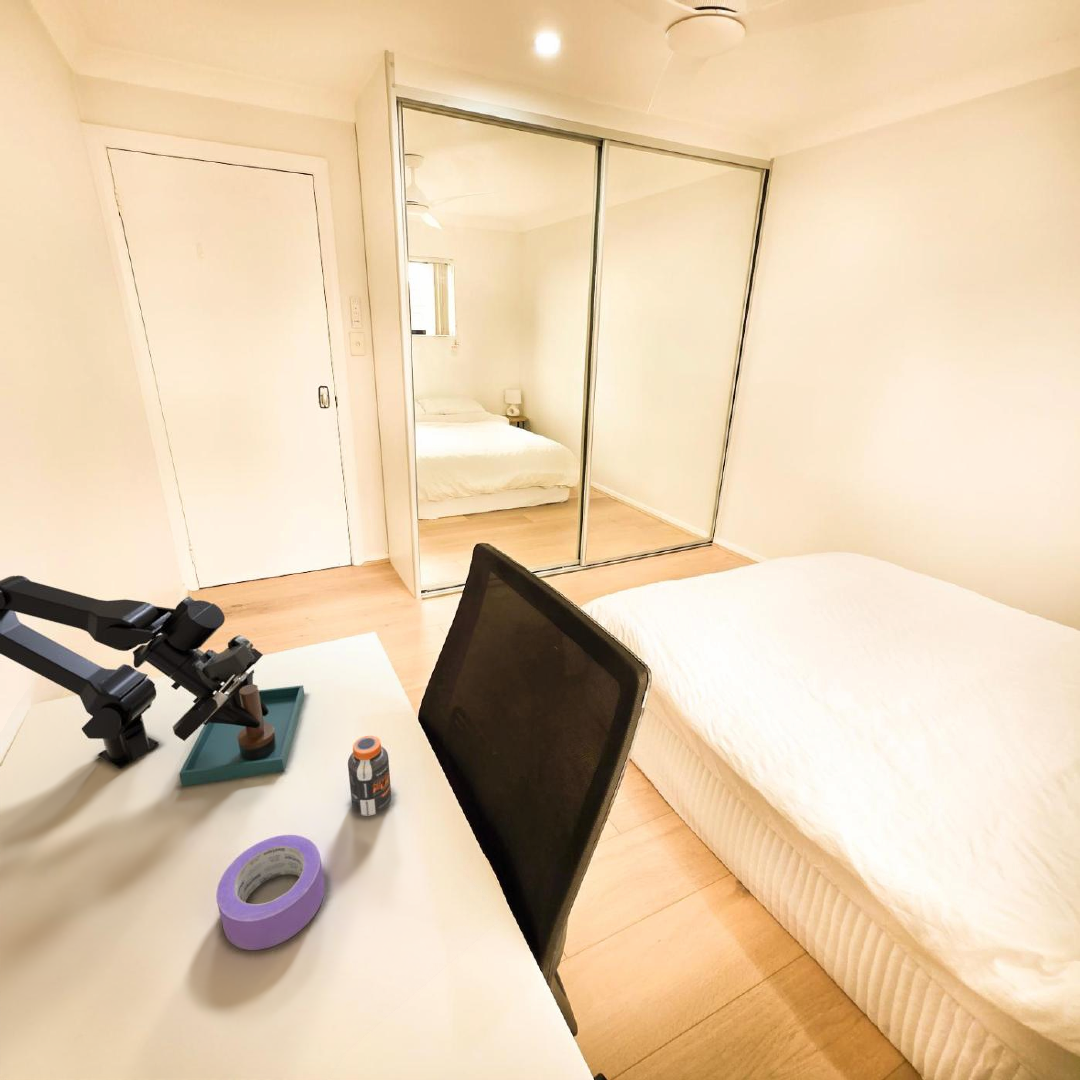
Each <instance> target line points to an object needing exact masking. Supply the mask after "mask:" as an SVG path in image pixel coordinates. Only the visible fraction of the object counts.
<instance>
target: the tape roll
mask: <svg viewBox="0 0 1080 1080" xmlns="http://www.w3.org/2000/svg"><path fill="white" fill-rule="evenodd" d="M323 872H324V871H323V866H322V859H321V854H320V851H319V848H318V847H317V845H316V844H315V843H314V842H313V841H311V839H309V838H307V837H305V836H302V835H297V834H282V835H281V834H280V835H276V836H272V837H269V838H266V839H264V840H261V841H259V842H257V843H256V844H254V845H252V846H250V847H249V848H247V849H246V850H244V851H243V852H242V853H240V854H239V855H238V856H237V857H236V858H235V859H234V860H233V861H232V862H231V863H230V864H229V866H228V867H227V868H226V869H225V871H224V872H223V873H222V876H221V878H220V879H219V882H218V885H217V890H216V903H217V908H218V911H219V915H220V919H221V924H222V927H223V931H224V934H225V936H226V938H227V940H228V941H229V942H230V943H231V944H232V945H233V946H235V947H237V948H239V949H242V950H245V951H246V950H248V951H257V950H265V949H268V948H272V947H274V946H277V945H279V944H282V943H284V942H286V941H288V940H289V939H291V938H292V937H294V936H295V935H296V934H298V933H299V932H300V931H302V930H303V929H304V927H306V926H307V925H308V924H309V923H310V921H311V920H312V919H313V917H314V916H315V915H316V914H317V912H318V910H319V909H320V906H321V904H322V903H323V899H324V896H325V888H326V887H325V885H326V884H325V878H324V873H323ZM284 875H293V876H297V877H298V879H297V881H295V883H294V884H293V886H291V888H290V889H289V890H287V891H286V892H284V893H283V894H282V895H280V896H278V897H277V898H274V899H273V900H269V901H267V902H263V903H248V902H247V900H248V899H249V897H250V896H251V894H252V893H253V892H254V891H255V890H256V889H257V888H258V887H260V886H261V885H262V884H263V883H265V882H267V881H269V880H271V879H273V878H275V877H279V876H284Z"/></svg>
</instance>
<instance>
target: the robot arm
mask: <svg viewBox="0 0 1080 1080" xmlns="http://www.w3.org/2000/svg"><path fill="white" fill-rule="evenodd" d="M17 613H19V614H22V615H26V616H30V617H33V618H37V619H41V620H45V621H49V622H53V623H55V624H56V623H57V624H61V625H64V626H67V627H71V628H75V629H80V630H82V631H84V632H87V634H89V635H90V637H91V638H92V640H94V641H95V642H97V643H99V644H101V645H104V646H106V647H109V648H111V649H113V650H117V651H120V652H128V651H130V650H133V649H134V650H133V651H132V655H133V666H131V665H129V664H125V663H122V664H121V665H120V666H119V667H117V668H116V669H113V668H112V669H111V668H104V667H102V666H101V665H98V664H97V663H95V662H93V661H91V660H89V659H88V658H85V657H84V656H82V655H80V654H78V653H77V652H75V651H73V650H71V649H69V648H67V646H64V645H62V644H60V643H58V642H57V641H55V640H53V639H51V638H50V637H47V636H46V635H44V634H42V633H40V632H39V631H36V630H35V629H33V628H31V627H29V626H27V625H26V624H24V623H22V622H21V621H20V620H19V618H18V615H17ZM225 619H226V618H225V613H224V612H223V611H222V609H221V608H220V607H219V606H218V605H217V604H215V603H211V602H209V601H206V600H195V599H193V598H192V597H191V596H187V597H185V598H184V599H182V600H181V601H180V602H179V603H178V604H177V605H176V606H175V608H170V607H164V606H158V605H157V606H156V605H154V604H152V603H150V602H146V601H143V600H142V601H141V600H133V599H125V598H124V599H113V600H104V599H98V598H94V597H90V596H86V595H84V594H83V595H82V594H79V593H76V592H73V591H70V590H69V591H68V590H65V589H61V588H58V587H54V586H49V585H46V584H43V583H39V582H35V581H32V580H31V579H29V578H28V577H27V576H24V575H10V576H8V577H5V578H2V579H0V655H2V656H4V657H6V658H7V659H10V660H11V661H13V662H15V663H16V664H19V665H21V666H23V667H25V668H26V669H28V670H31V671H32V672H34V673H36V674H38V675H39V676H42V677H44V678H45V679H46V680H49V681H51V682H53V683H55V684H57V685H58V686H60V687H62V688H64V689H66V690H68V691H69V692H72V693H74V694H75V695H77V696H78V697H79V698H80V700H81V702H82V705H83V707H84V709H85V711H86V713H87V714H89V715H90V716H91V718H90V719H89V720H88V721H87V722H86V723H85V724H84V725H82V727H81V730H82V732H83V733H84V735H85V736H86V737H87V739H90V740H93V739H94V740H95V739H96V740H102V741H103V745H104V750H102V751H100V752H99V753H98V754H97V757H98V758H99V759H101V760H102V761H104V762H106V763H108V764H110V765H112V767H115V768H116V769H123V768H124V767H126V766H128V765H130V764H131V763H133V762H134V761H136V760H138V759H140V758H142V757H143V756H144V755H146V754H148V753H150V752H151V751H153V750H154V749H156V748H157V747H159V746H160V743H159V741H156V740H154V739H153V738H151V737H148V734H147V730H146V726H145V722H144V719H143V714H144V713H145V712H147V710H148V709H150V708H151V707H152V705H153V702H154V701H155V699H156V697H157V689H156V684H155V683H154V682H153V680H151V679H150V678H149V677H148V673H143V672H141V671H139V670H136V669H138V668H140V667H141V666H142V665H144V664H145V663H146V662H147V663H148V664H150V665H151V666H152V667H153V668H155V669H157V670H158V671H159V672H161V674H164V675H165V676H166V677H168V678H169V679H171V680H172V681H173V684H171V685H170V686H171V688H172V689H174V690H175V691H177V690H178V689H179V688H180V687H181V688H183V689H185V690H186V691H187V692H189V693H190V694H192V695H193V696H194V697H195V699H193V700H192V703H193V705H192V706H191V707H190V708H189V709H188V710H187V711H186V712H184V714H183V715H182V716H181V717H180V718H179V719H178V721H176V722H175V724H173V726H172V730H173V734H174V736H176V737H177V738H179V739H180V740H182V741H183V742H186V740H187V739H189V738H190V736H192V735H193V734H194V733H195V732H196V731H197V730H198V728H200V727H201V726H202V725H203V726H204V725H207V724H208V723H221V724H232V725H238V726H245V727H251V728H257V727H258V726H260V724H261V723H260V722H259V721H258V720H257V719H256V718H255V717H254V716H253V715H251V714H250V713H249V712H248V711H246V710H245V709H244V708H242V707H241V706H242V705H241V700H240V694H239V690H240V689H241V688H242V687H244V686H246V685H251V684H254V674H255V669H252V670H251V671H250V672H249V673H248V672H247V671H249V669H250V668H251V667H253V665H256V664H257V663H258V661H259V660H260V659H261V658H262V657H263V656H264V654H263V653H262V652H261V651H259V650H257V649H256V648H254V644H253V643H252V642H250V640H249V639H247V638H246V637H244V636H242V635H241V634H239V635H236V636H234V637H232V638H231V639H230V640H229V641H228V642H227V647H226V648H225V649H224V650H223V651H221V652H219V653H217V652H215V650H213V649H207V650H206V651H205V652H203V651H202V650H201V649H199V648H201V647H203V645H204V644H205V643H206V642H207V641H208V640H210V638H211V637H212V636H213V635H214V634H215V633H216V632H217V631H218V630H219V629H220V628H221V627H223V625H224V623H225ZM135 648H136V649H135ZM226 692H227V694H228V696H226V695H225V694H226ZM260 702H261V709H262V715H263V716H266V715H267V714H268V713H269V710H268V709H267V707H266V706H265V704H264V702H263V701H262V699H261V698H260Z"/></svg>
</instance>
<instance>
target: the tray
mask: <svg viewBox="0 0 1080 1080" xmlns="http://www.w3.org/2000/svg"><path fill="white" fill-rule="evenodd" d="M304 689H305V688H304V685H303V684H301V685H294V686H293V685H292V686H284V687H276V688H266V689H258V690H259V696H260V698H261V699H262V701H263V702H264V704H265V706H266V707H267V709H268V710H269V713H268V714H267V715H266V716H263V721H264V722H267V723H270V724H272V725H273V727H274V732H275V738H276V748H275V750H274V751H273V752H272V753H271V754H270V755H268V756H267V757H265V758H262V759H259V760H254V761H249V760H245V759H243V758H242V757H241V754H240V749H239V743H238V734H239V733H240V732H241V730H243V729H244V728H245V726H238V725H232V724H221V723H208V724H207V725H204V724H203V727H202V728H201V731H200V732H199V735H198V736H197V738H196V739H195V742H194V744H193V746H192V748H191V750H190V751H189V753H188V755H187V758H186V760H184V761H185V762H184V763H183V766H182V768H180V771H179V773H178V775H179V778H180V782H181V787H187V786H193V785H194V786H195V785H202V784H207V783H214V782H220V781H221V782H223V781H229V780H235V779H241V778H250V777H256V776H262V775H263V776H264V775H269V774H275V773H276V774H277V773H282V772H285V771H286V767H287V763H288V759H289V755H290V752H291V749H292V744H293V741H294V737H295V734H296V730H297V727H298V722H299V718H300V714H301V711H302V707H303V704H304V700H305V697H306V696H305V695H306V694H305V690H304ZM224 694H225V695H226V696H228V694H229V693H224ZM241 707H242V706H241Z"/></svg>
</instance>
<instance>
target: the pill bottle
mask: <svg viewBox="0 0 1080 1080" xmlns="http://www.w3.org/2000/svg"><path fill="white" fill-rule="evenodd" d="M389 760H390V759H389V753H388V751H387V749H386V748H385V747H384V746H382V744H381V739H380V738H379V737H377V736H376V735H364V736H362V737H359V738H358V739H357V740H356V741H355V742H354V743H353V745H352V752H351V754H350V755H349V757H348V760H347V769H348V770H347V771H348V778H349V779H348V780H349V790H350V798H351V806H352V809H353V811H354V812H355V813H356V814H358V815H360V816H367V817H368V816H375V815H377V814H379V813H382V812H383V811H384V810H385V809H387V808H388V806H389V805H390V803H391V801H392V790H391V789H392V788H391V787H392V786H391V773H390V761H389Z"/></svg>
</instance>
